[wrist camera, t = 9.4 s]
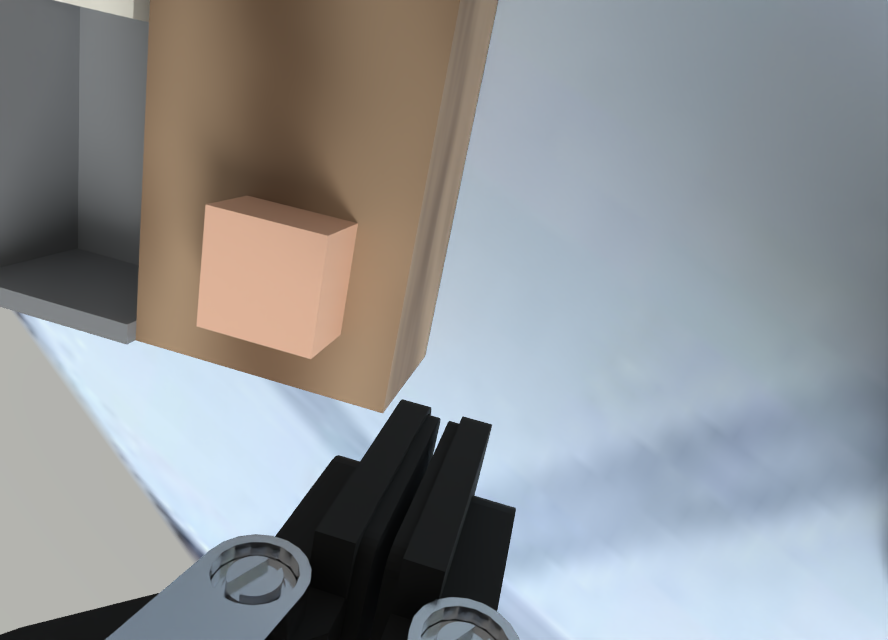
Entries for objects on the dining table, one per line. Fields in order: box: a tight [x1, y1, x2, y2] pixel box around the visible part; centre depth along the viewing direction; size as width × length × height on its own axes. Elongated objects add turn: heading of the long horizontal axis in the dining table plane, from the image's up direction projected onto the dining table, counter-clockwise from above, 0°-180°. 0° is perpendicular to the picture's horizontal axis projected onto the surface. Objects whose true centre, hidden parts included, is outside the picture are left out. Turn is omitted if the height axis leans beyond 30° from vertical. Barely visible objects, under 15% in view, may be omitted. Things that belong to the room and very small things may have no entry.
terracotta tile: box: [196, 196, 358, 359], centre depth 21 cm, size 4×4×2 cm
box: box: [0, 0, 149, 344], centre depth 25 cm, size 8×18×6 cm, turn 169°
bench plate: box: [136, 0, 498, 413], centre depth 24 cm, size 10×18×6 cm, turn 169°
